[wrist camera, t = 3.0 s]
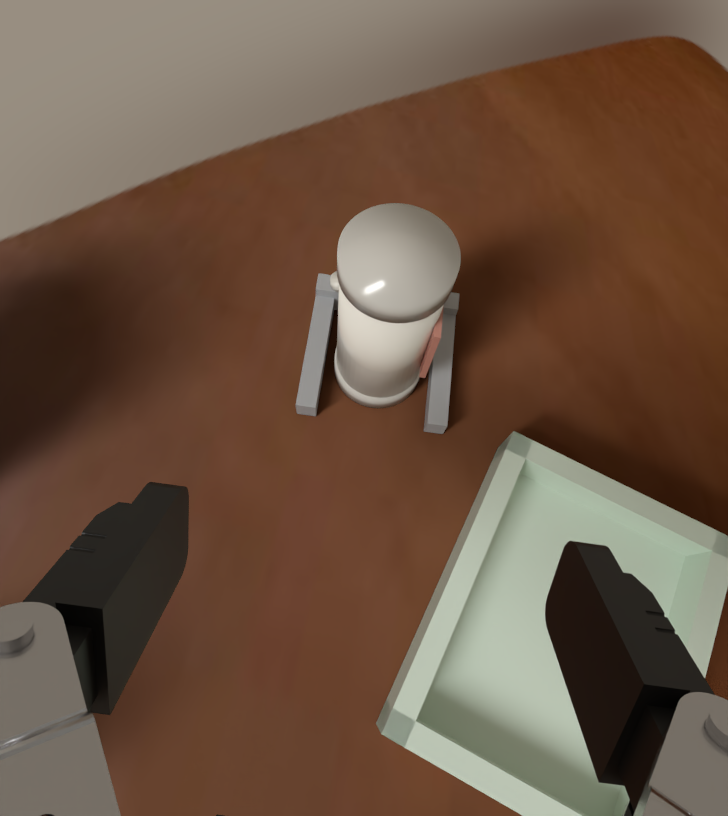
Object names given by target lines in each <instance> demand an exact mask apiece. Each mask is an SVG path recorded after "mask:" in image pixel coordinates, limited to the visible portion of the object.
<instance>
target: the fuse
mask: <svg viewBox="0 0 728 816" xmlns="http://www.w3.org/2000/svg"><path fill="white" fill-rule="evenodd" d="M460 263H461V254H460V248H459V245H458V242H457V240H456V237H455V235H454V234H453V232H452V231H451V229H450V228H449V227H448V226H447V225H446V224H445V223H444V222H443V221H442V220H441V219H440V218H438V217H437V216H436V215H434V214H432V213H431V212H429V211H427V210H424V209H422V208H419V207H416V206H413V205H408V204H399V203H390V204H382V205H378V206H374V207H371V208H368V209H366V210H364V211H362V212H361V213H359V214H358V215H356V216H355V217H354V218H353V219H352V220H350V222H349V223H348V224H347V225H346V226H345V228H344V230H343V231H342V233H341V236H340V238H339V242H338V250H337V277H338V282H339V299H338V329H337V347H336V350H335V360H334V371H335V377H336V380H337V383H338V385H339V387H340V388H341V390H342V391H343V392H344V393H345V395H346V396H347V397H349V398H350V399H351V400H353V401H354V402H356V403H358V404H360V405H363V406H366V407H370V408H387V407H391V406H394V405H397V404H399V403H401V402H402V401H404V400H405V399H406V398H408V397H409V396H410V395H411V393H412V392H413V391H414V389H415V387H416V385H417V383H418V380H419V378H420V377H421V378H425V377H426V375H427V372H428V369H429V367H430V364H431V362H432V359H433V357H434V354H435V352H436V349H437V346H438V344H439V341H440V339H441V331H442V319H443V307H444V303H445V302H446V301H447V299H448V297H449V295H450V293H451V291H452V288H453V286H454V283H455V280H456V277H457V275H458V272H459V269H460Z"/></svg>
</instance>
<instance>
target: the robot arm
mask: <svg viewBox="0 0 728 816" xmlns="http://www.w3.org/2000/svg"><path fill="white" fill-rule="evenodd" d="M188 513H189V495H188V489H187V488H186V487H184V486H177V485H169V484H162V483H155V482H149V483H148V484H147V485H146V486H145V487H144V488H143V490H142V491H141V492H140V494H139V495H138V496H137V497H136V499H135V500H134V501H133V503H132V504H129V503H121V502H118V503H117V504H115V505H113V506H111V507H110V508H108V509H106V510H105V511H103V512H101V513H99V514H98V515H96V516H95V517H94V519H93V520H92V521H91V522H90V523H89V525H88V526H87V527H86V528H85V529H84V530H83V532H82V535H81V536H78V537H77V539H76V540H75V541H74V542H73V543H72V545H71V546H70V549H69V550H66V552H65V553H64V554H63V555H62V556H61V557H60V559H59V560H58V561H57V562H56V563H55V565H54V566H53V567H52V568H51V569H50V570H49V572H48V573H47V574H46V575H45V576H44V577H43V579H42V580H41V581H40V582H39V583H38V584H37V586H36V587H35V588H34V589H33V590H32V592H31V593H30V594H29V595H28V596H27V597H26V599H25V600H24V601H23V602H21V603H15V604H10V605H6V606H3V607H0V816H121V815H120V812H119V808H118V804H117V800H116V797H115V793H114V789H113V785H112V782H111V778H110V774H109V771H108V767H107V763H106V759H105V756H104V752H103V748H102V744H101V741H100V737H99V733H98V729H97V726H96V722H95V719H94V716H93V713H99V714H107V715H110V714H111V712H112V710H113V708H114V706H115V705H116V703H117V701H118V699H119V697H120V695H121V693H122V691H123V689H124V687H125V685H126V683H127V681H128V679H129V677H130V675H131V673H132V672H133V670H134V668H135V666H136V664H137V662H138V660H139V658H140V656H141V654H142V652H143V650H144V648H145V646H146V644H147V642H148V640H149V639H150V637H151V635H152V633H153V631H154V629H155V627H156V625H157V623H158V621H159V619H160V617H161V615H162V613H163V611H164V609H165V607H166V606H167V604H168V602H169V600H170V598H171V596H172V594H173V592H174V590H175V588H176V586H177V584H178V582H179V580H180V578H181V576H182V574H183V571H184V568H185V564H186V560H187V554H188ZM664 614H665V613H664V611H663V610H662V608H661V606H660V605H659V603H658V601H657V600H656V598H655V596H654V595H653V593H652V592H651V591H650V590H649V589H648V588H647V587H645V586H644V585H643V584H642V583H641V582H640V581H639V580H638V579H637V578H636V577H635V576H633V575H632V574H630V573H623V571H622V569H621V568H620V566H619V564H618V562H617V561H616V559H615V557H614V555H613V554H612V552H611V550H610V549H609V548H608V547H607V546H604V545H597V544H590V543H583V542H575V541H569V542H567V543H566V545H565V546H564V549H563V551H562V554H561V557H560V560H559V563H558V566H557V569H556V572H555V575H554V578H553V581H552V584H551V587H550V590H549V593H548V596H547V600H546V606H545V620H546V626H547V630H548V633H549V636H550V639H551V642H552V645H553V648H554V651H555V654H556V657H557V660H558V663H559V666H560V669H561V672H562V675H563V678H564V681H565V684H566V687H567V690H568V693H569V696H570V699H571V702H572V705H573V708H574V711H575V714H576V716H577V719H578V722H579V725H580V728H581V731H582V734H583V737H584V740H585V743H586V746H587V749H588V752H589V755H590V758H591V761H592V764H593V767H594V770H595V773H596V776H597V779H598V782H599V783H607V784H614V785H622V786H625V789H626V791H627V794H628V797H629V801H628V803H627V805H626V807H625V809H624V811H623V813H622V816H728V700H726V699H724V698H721V697H719V696H716V695H714V693H713V691H712V690H711V688H710V686H709V685H708V683H707V681H706V680H705V678H704V677H703V675H702V673H701V672H700V670H699V668H698V667H697V665H696V663H695V662H694V660H693V659H692V657H691V655H690V654H689V652H688V650H687V649H686V647H685V645H684V644H683V642H682V641H681V639H680V637H679V636H678V635H677V634H675V629H674V628H673V626H672V624H671V623H670V621H669V619H668V618H667V617H665V616H664ZM216 816H223V815H216Z"/></svg>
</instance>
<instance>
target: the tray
mask: <svg viewBox="0 0 728 816" xmlns="http://www.w3.org/2000/svg"><path fill="white" fill-rule="evenodd" d="M569 541H575V542H583V543H590V544H597V545H604V546H607V547H608V548H609V549H610V550H611V552H612V554H613V555H614V557H615V559H616V561H617V562H618V564H619V566H620V568H621V569H622V571H623V573H630V574H632V575H633V576H635V577H636V578H637V579H638V580H639V581H640V582H641V583H642V584H643V585H644V586H645V587H647V588H648V589H649V590H650V591H651V592H652V593H653V595H654V596H655V598H656V600H657V601H658V603H659V605H660V606H661V608H662V610H663V611H664V613H665V614H664V616H665V617H667V618H668V619H669V621H670V623H671V624H672V626H673V628H674V629H675V634H677V635H678V636H679V637H680V639H681V641H682V642H683V644H684V645H685V647H686V649H687V650H688V652H689V654H690V655H691V657H692V659H693V660H694V662H695V663H696V665H697V667H698V668H699V670H700V672H701V673H702V675H703V677H704V678H705V677H706V673H707V669H708V665H709V660H710V656H711V652H712V648H713V644H714V640H715V636H716V632H717V628H718V624H719V620H720V616H721V612H722V608H723V604H724V600H725V596H726V592H727V588H728V536H727V535H725V534H723V533H721V532H719V531H717V530H715V529H713V528H711V527H709V526H707V525H705V524H703V523H701V522H699V521H696V520H694V519H692V518H690V517H688V516H686V515H684V514H682V513H680V512H678V511H676V510H674V509H672V508H670V507H668V506H666V505H664V504H662V503H660V502H658V501H656V500H654V499H652V498H650V497H648V496H645V495H643V494H641V493H639V492H637V491H635V490H633V489H631V488H629V487H627V486H625V485H623V484H621V483H619V482H617V481H615V480H613V479H611V478H609V477H607V476H605V475H603V474H601V473H599V472H596V471H594V470H592V469H590V468H588V467H586V466H584V465H582V464H580V463H578V462H576V461H574V460H572V459H570V458H568V457H566V456H564V455H562V454H560V453H558V452H556V451H554V450H552V449H550V448H548V447H545V446H543V445H541V444H539V443H537V442H535V441H533V440H531V439H529V438H527V437H525V436H523V435H521V434H519V433H517V432H515V431H513V432H512V433H511V434H510V435H509V436H508V438H507V439H506V440H505V441H504V442H503V443H502V444H501V445H500V446H499V447H498V449H497V451H496V453H495V456H494V458H493V460H492V462H491V465H490V467H489V469H488V471H487V474H486V476H485V478H484V480H483V483H482V485H481V487H480V490H479V492H478V494H477V496H476V499H475V501H474V503H473V505H472V508H471V510H470V512H469V514H468V517H467V519H466V521H465V523H464V526H463V528H462V530H461V532H460V535H459V537H458V539H457V541H456V544H455V546H454V548H453V550H452V553H451V555H450V557H449V560H448V562H447V564H446V566H445V569H444V571H443V573H442V575H441V578H440V580H439V582H438V584H437V587H436V589H435V591H434V593H433V596H432V598H431V600H430V602H429V605H428V607H427V609H426V611H425V614H424V616H423V618H422V621H421V623H420V625H419V627H418V630H417V632H416V634H415V636H414V639H413V641H412V643H411V645H410V648H409V650H408V652H407V654H406V657H405V659H404V661H403V663H402V666H401V668H400V670H399V672H398V675H397V677H396V679H395V681H394V684H393V686H392V688H391V691H390V693H389V695H388V697H387V700H386V702H385V704H384V706H383V709H382V711H381V713H380V715H379V718H378V720H377V722H376V724H377V726H378V728H379V730H380V732H381V734H382V735H384V736H386V737H387V738H389V739H391V740H393V741H394V742H396V743H398V744H399V745H401V746H403V747H405V748H406V749H408V750H410V751H412V752H413V753H415V754H417V755H419V756H420V757H422V758H424V759H425V760H427V761H429V762H431V763H432V764H434V765H436V766H438V767H439V768H441V769H443V770H445V771H446V772H448V773H450V774H452V775H453V776H455V777H457V778H458V779H460V780H462V781H464V782H465V783H467V784H469V785H471V786H472V787H474V788H476V789H478V790H479V791H481V792H483V793H484V794H486V795H488V796H490V797H491V798H493V799H495V800H497V801H498V802H500V803H502V804H504V805H505V806H507V807H509V808H510V809H512V810H514V811H516V812H517V813H519V814H521V815H523V816H622V813H623V811H624V809H625V807H626V805H627V803H628V801H629V797H628V794H627V791H626V789H625V786H622V785H614V784H607V783H599V782H598V779H597V776H596V773H595V770H594V767H593V764H592V761H591V758H590V755H589V752H588V749H587V746H586V743H585V740H584V737H583V734H582V731H581V728H580V725H579V722H578V719H577V716H576V714H575V711H574V708H573V705H572V702H571V699H570V696H569V693H568V690H567V687H566V684H565V681H564V678H563V675H562V672H561V669H560V666H559V663H558V660H557V657H556V654H555V651H554V648H553V645H552V642H551V639H550V636H549V633H548V630H547V626H546V620H545V606H546V600H547V596H548V593H549V590H550V587H551V584H552V581H553V578H554V575H555V572H556V569H557V566H558V563H559V560H560V557H561V554H562V551H563V549H564V546H565V545H566V543H567V542H569Z"/></svg>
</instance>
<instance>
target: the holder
mask: <svg viewBox="0 0 728 816" xmlns="http://www.w3.org/2000/svg"><path fill="white" fill-rule="evenodd" d="M338 299H339V282H338V277H337V271H336V272H334V273H333V274H332V275H326V274H319V275H318V280H317V285H316V298H315V304H314V309H313V314H312V320H311V325H310V330H309V336H308V341H307V347H306V352H305V357H304V363H303V368H302V374H301V379H300V384H299V390H298V395H297V400H296V411H297V414H304V415H311V416H316V414H317V408H318V402H319V397H320V391H321V385H322V379H323V373H324V367H325V361H326V355H327V349H328V343H329V338H330V332H331V326H332V320H333V314H334V310H338ZM458 306H459V293H452V292H451V293H450V295H449V297H448V299H447V301H446V302H445V303H444V307H443V319H442V331H441V339H440V341H439V344H438V346H437V349H436V352H435V354H434V357H433V359H432V362H431V364H430V368H429V379H428V390H427V400H426V411H425V422H424V431H425V432H432V433H439V434H443V433H444V431H445V429H446V428H447V425H448V412H449V399H450V385H451V372H452V359H453V346H454V333H455V320H456V314H457V311H458Z"/></svg>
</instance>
